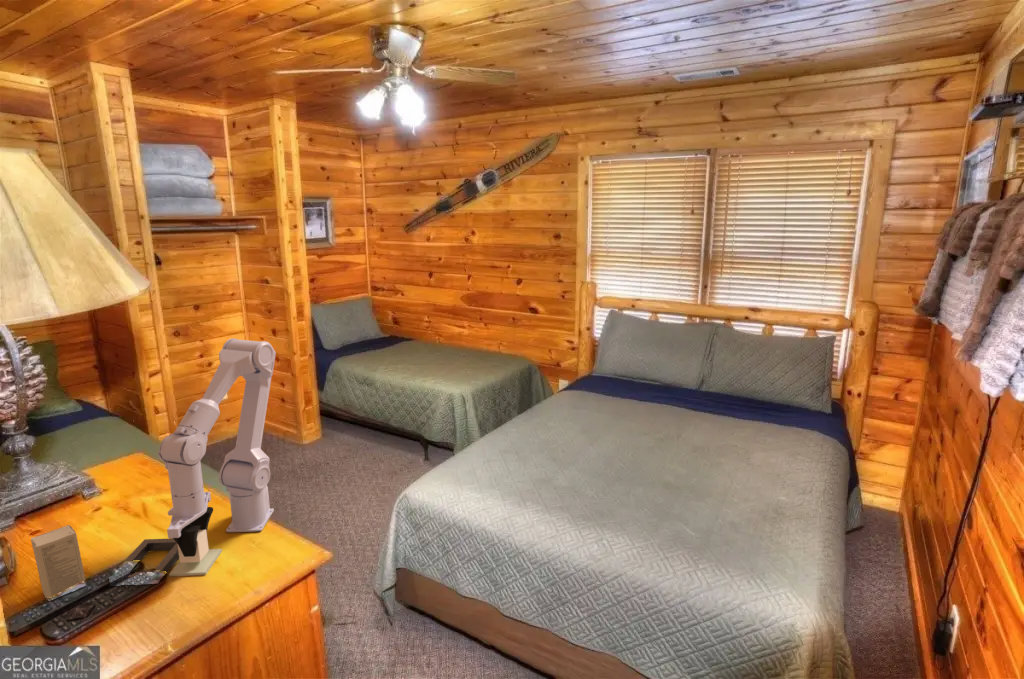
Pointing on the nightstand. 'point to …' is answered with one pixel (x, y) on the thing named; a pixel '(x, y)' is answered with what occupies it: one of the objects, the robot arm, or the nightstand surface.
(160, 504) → the nightstand surface
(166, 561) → the dark brown rectangular frame
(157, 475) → the nightstand surface
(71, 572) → the skincare box
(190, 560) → the peg
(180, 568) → the tile
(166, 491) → the nightstand surface
